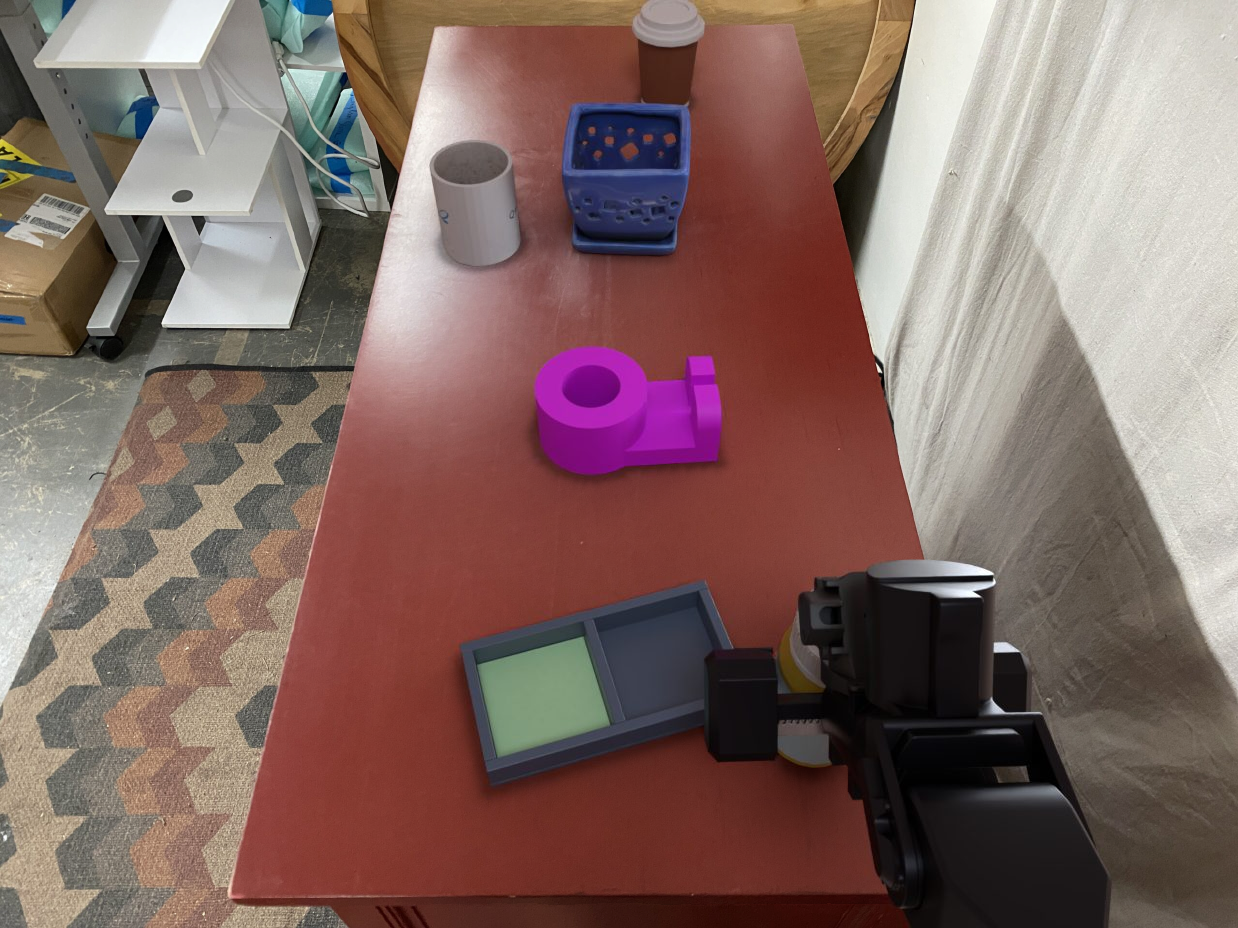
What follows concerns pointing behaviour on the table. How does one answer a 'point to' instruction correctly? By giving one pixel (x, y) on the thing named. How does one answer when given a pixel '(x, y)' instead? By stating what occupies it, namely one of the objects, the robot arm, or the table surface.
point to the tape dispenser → (624, 412)
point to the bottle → (800, 676)
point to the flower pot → (626, 176)
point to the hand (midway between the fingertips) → (829, 656)
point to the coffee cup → (667, 49)
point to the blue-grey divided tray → (592, 681)
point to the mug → (476, 201)
